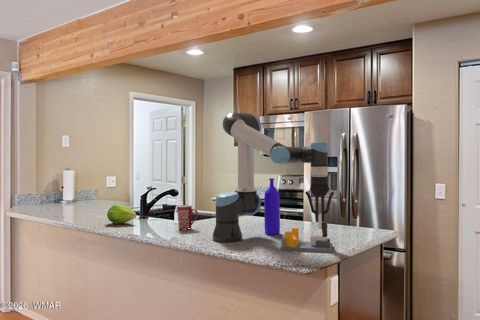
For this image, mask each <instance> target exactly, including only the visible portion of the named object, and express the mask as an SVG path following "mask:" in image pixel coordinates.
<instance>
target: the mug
mask: <svg viewBox="0 0 480 320" xmlns="http://www.w3.org/2000/svg"><path fill="white" fill-rule="evenodd" d="M176 209H177V222H178V223H177V224H178V230H180V229H188V228H191V229H192V226H193V225H194V223H195V221H196V220H197V218H198V216H199V215H198V210H197V208H193V205H190V204H185V205H177V206H176ZM193 212H195V217H194V219H193V218H192V217H193V216H192V214H193ZM192 219H193V220H192Z"/></svg>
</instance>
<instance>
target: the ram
mask: <svg viewBox="0 0 480 320" xmlns="http://www.w3.org/2000/svg"><path fill="white" fill-rule="evenodd" d="M327 239H328V222H325V221H322V229H321V234H310V242H311V245H312V246H316V241H325V242H327Z"/></svg>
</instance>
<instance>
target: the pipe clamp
mask: <svg viewBox="0 0 480 320" xmlns="http://www.w3.org/2000/svg"><path fill="white" fill-rule="evenodd" d="M284 234H285V246H287V247H296V246H297V245H299V241H300V238H299V236H300V235H299V234H300V233H299V227H291V231H288V230H287V231H285V232H284Z"/></svg>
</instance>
